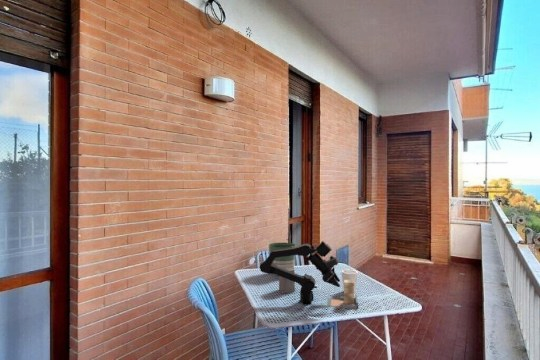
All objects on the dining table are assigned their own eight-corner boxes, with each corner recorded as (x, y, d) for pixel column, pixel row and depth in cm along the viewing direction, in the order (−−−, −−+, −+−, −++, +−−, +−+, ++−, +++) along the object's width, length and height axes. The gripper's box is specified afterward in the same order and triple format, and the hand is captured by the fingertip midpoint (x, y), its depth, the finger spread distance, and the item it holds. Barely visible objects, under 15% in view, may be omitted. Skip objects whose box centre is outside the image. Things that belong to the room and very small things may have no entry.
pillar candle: (284, 287, 204) (284, 263, 204) (297, 290, 198) (297, 265, 198) (276, 291, 196) (275, 267, 196) (289, 294, 190) (289, 269, 190)
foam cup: (347, 289, 198) (347, 268, 198) (360, 293, 191) (360, 271, 192) (338, 293, 191) (338, 271, 192) (352, 297, 185) (352, 274, 185)
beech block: (344, 305, 170) (344, 282, 170) (344, 301, 175) (344, 279, 175) (354, 305, 169) (353, 283, 169) (353, 302, 174) (353, 280, 174)
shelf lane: (327, 308, 169) (326, 300, 169) (327, 300, 180) (327, 293, 181) (358, 310, 165) (358, 302, 165) (357, 302, 177) (357, 294, 177)
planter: (270, 270, 243) (270, 242, 243) (296, 271, 240) (296, 242, 241) (267, 277, 224) (266, 247, 224) (294, 278, 221) (294, 247, 221)
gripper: (328, 256, 166) (350, 278, 163) (329, 249, 184) (349, 269, 181) (313, 270, 167) (335, 293, 165) (315, 262, 185) (335, 282, 183)
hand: (339, 283), depth 173 cm, fingers open, 9 cm apart
